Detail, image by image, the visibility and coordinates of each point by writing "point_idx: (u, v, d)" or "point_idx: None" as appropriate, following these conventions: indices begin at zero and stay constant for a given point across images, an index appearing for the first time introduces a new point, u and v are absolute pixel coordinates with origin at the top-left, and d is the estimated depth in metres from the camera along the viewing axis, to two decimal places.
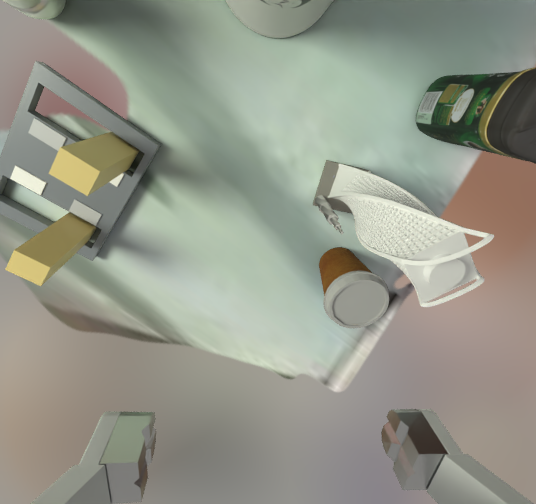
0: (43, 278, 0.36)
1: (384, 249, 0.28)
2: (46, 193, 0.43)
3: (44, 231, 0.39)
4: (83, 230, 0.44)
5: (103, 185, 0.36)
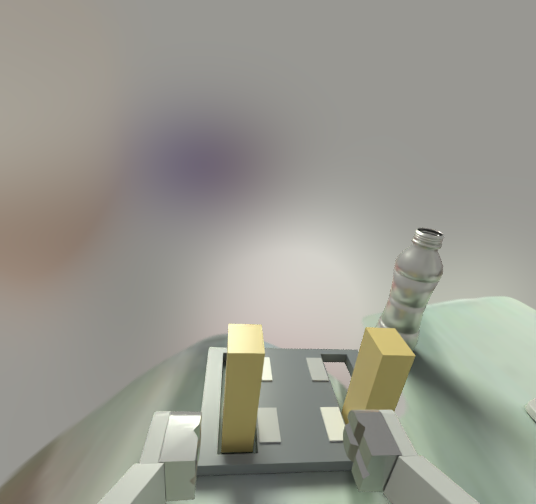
0: (242, 352, 0.26)
1: None
2: None
3: None
4: None
5: (371, 388, 0.29)
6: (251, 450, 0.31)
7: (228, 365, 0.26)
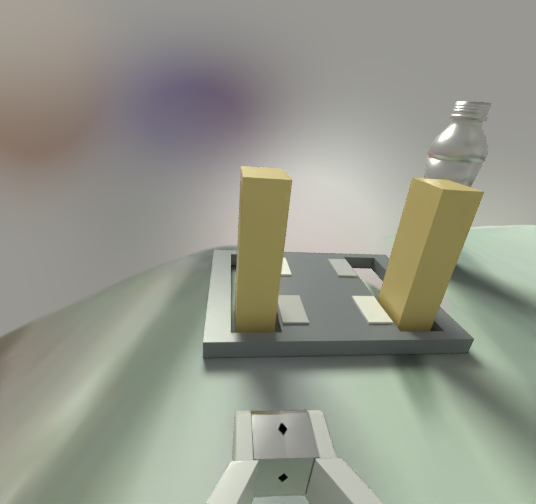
0: (262, 177, 0.20)
1: None
2: None
3: None
4: None
5: (425, 243, 0.23)
6: None
7: (244, 198, 0.20)
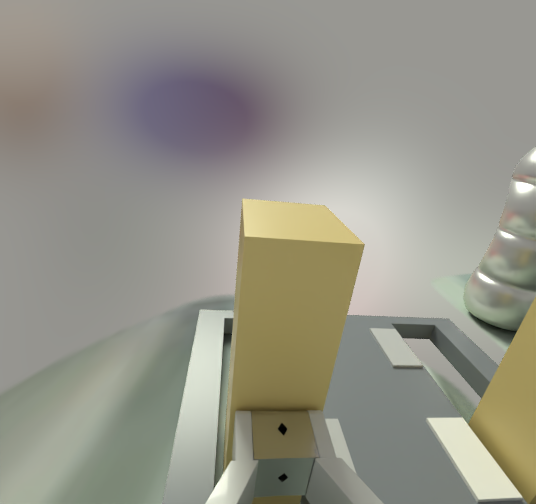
0: (291, 238, 0.08)
1: None
2: None
3: None
4: None
5: None
6: None
7: (245, 284, 0.08)
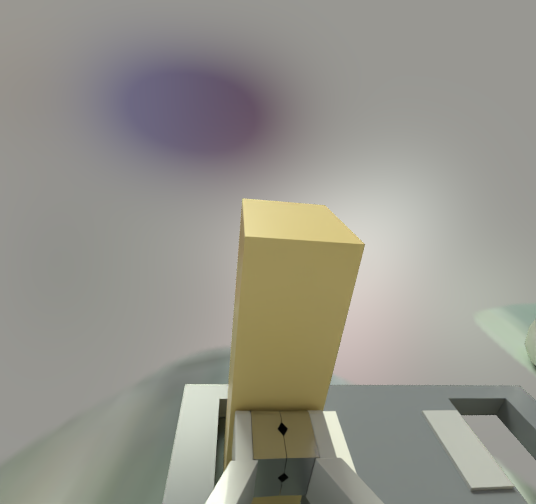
0: (292, 238, 0.08)
1: None
2: None
3: None
4: None
5: None
6: None
7: (246, 284, 0.08)
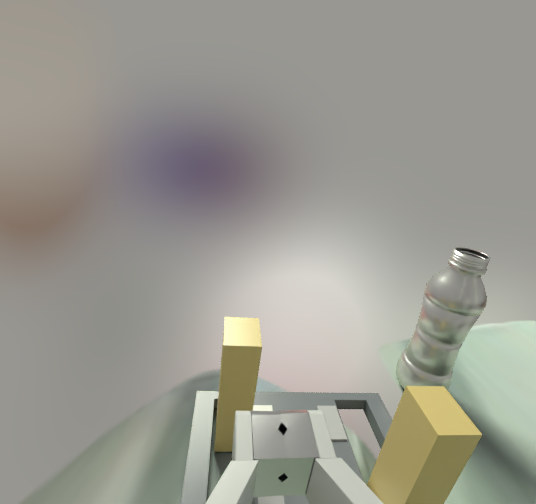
0: (238, 344, 0.25)
1: None
2: None
3: None
4: None
5: (418, 475, 0.21)
6: None
7: (223, 358, 0.25)
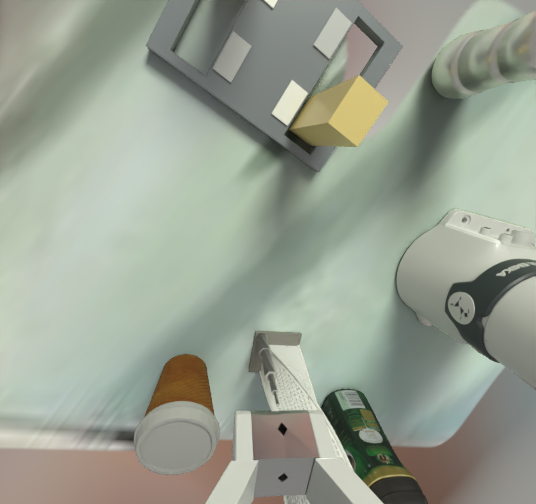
0: None
1: None
2: (256, 2, 0.30)
3: None
4: None
5: (311, 125, 0.27)
6: None
7: None
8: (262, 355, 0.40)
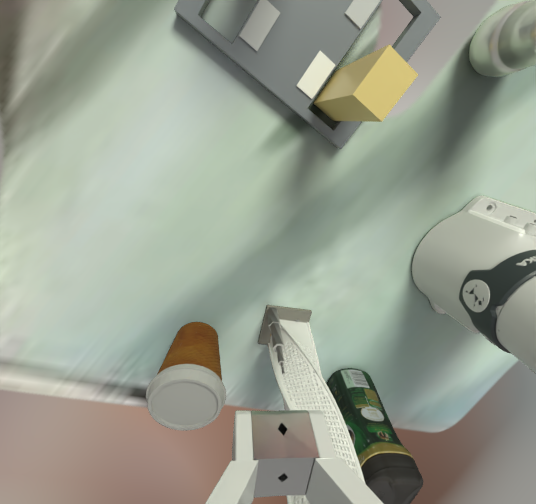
0: None
1: None
2: None
3: None
4: None
5: (336, 98, 0.27)
6: None
7: None
8: (272, 328, 0.41)
